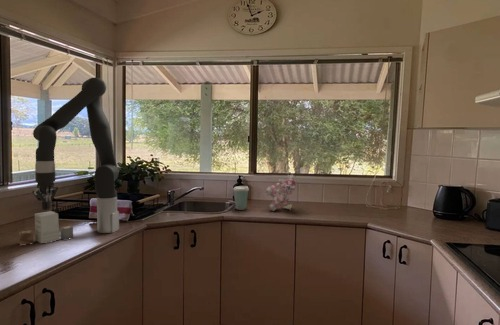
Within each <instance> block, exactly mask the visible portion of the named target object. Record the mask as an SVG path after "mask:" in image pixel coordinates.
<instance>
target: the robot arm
mask: <svg viewBox="0 0 500 325" xmlns="http://www.w3.org/2000/svg"><path fill="white" fill-rule="evenodd" d="M106 90H107V84H106V83H105V81H104V80H103V79H102V78H100V77H91V78H88V79H87V80H85V81H83V83H82V85H81V90H80V91H79V92H78V93H77V94H76V95H75V96H74V97H73V98H71V99H69V100H68V101H67V102H66V103H65V104H63V105H62V106H60V107H59V108H58V109H57V110H56V111H55V112H54V113H53V114H52V115H50V117H48V118H47V119H45V120H43V121H42V122H41V123H39V124H38V125H37V126H36V127H35V128H34V129H33V132H32V135H33V137H34V139H35V140H37V141H38V147H37V148H36V149H35V165H34V170H35V172H34V173H35V176H34V177H35V178H34V179H35V182H36V183H37V185H36V189H35V190H32V191H31V192H32V194H33V196H34V198H36V199H37V201H38V202H41V208H42V210H43V211H47V210H50V207H51V205H50V204H51V201H52V200H53V199H54V197H55V195H56V194H57V192H58V190H59V187H58V186H55V183H54V182H56V162H55V148H56V143H57V132H58V131H59V130H61V129H63V128H65V127H66V126H68V124H69V123H70V122H72V121H73V120H74V119H75V118H76V117H77V116H78V115H79V114H80V113H81V112H82V111H83V110H84V109H85V108H86V112H87V120H88V126H89V133H90V138H91V141H92V143H93V146H94V148H95V150H96V151H97V154H98V158H99V164H100V166H98V167H97V168H96V169H95V172H94V189H95V193H96V217H97V218H96V221H97V222H96V223H97V226H96V227H97V231H96V232H97V233H99V234H100V233H101V234H108V233H109V234H111V233H112V234H113V233H115V232H117V231H119V230H120V212H119V210H118V191H117V190H116V188H115V181H116V180H118V178H119V175H120V174H119V168H118V165H117V161H116V157H115V153H114V147H113V146H114V145H113V137H112V133H111V132H112V131H111V126H110V122H109V120H108V118H107V116H106V114H105V113H104V109H103V105H102V100H101V99H102V98H101V97H102V96H104V94H105V93H106Z"/></svg>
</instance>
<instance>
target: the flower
mask: <svg viewBox="0 0 500 325" xmlns="http://www.w3.org/2000/svg"><path fill="white" fill-rule="evenodd" d="M295 185H297V181H296V175H294V174H293V172H292V173H291V174H290V175H289V174H287V179H285V176H284V177H283V178H279V179H278V182H277V183H276V186H275V185H273V184H272V185H271V186H270V185H269V186H268V187H267V188H266V189H264V190H265V191H264V194H266V196H267V197H269V196H270V197H272V198H274V199H273V200H272V201H271V203H270V204H269V208H270V209H269V210H270V211H272V212H276V210H280V209H281V205H279V204H283V209H286V210H290V211H292V206H293V205H292V204H288V202H289V201H290V199H289V198H290V197H289V195H292V194H293V192H294V191H295V190H296V186H295ZM278 186H279V188H278V189H277V188H276V187H278ZM276 194H277V195H279V197H276Z"/></svg>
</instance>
